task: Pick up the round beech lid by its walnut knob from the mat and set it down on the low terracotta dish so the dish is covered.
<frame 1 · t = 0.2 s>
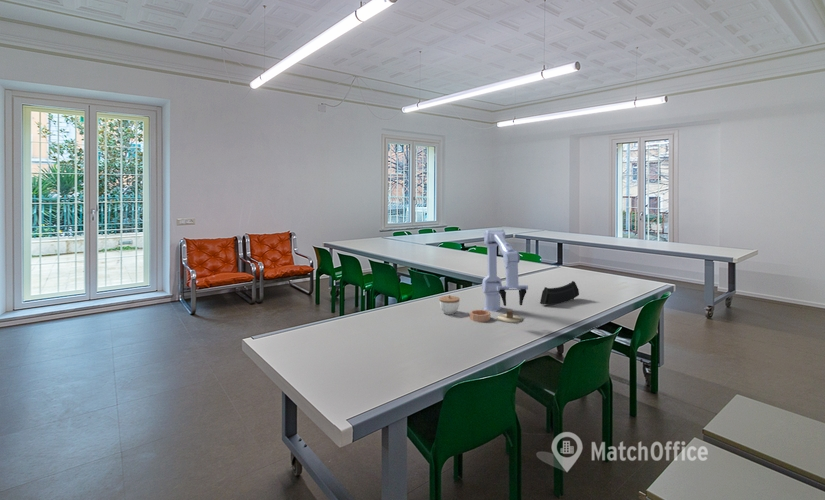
hand: (512, 305, 203), 10 cm above the table, tool pointing down, fingers open, 7 cm apart
lid: (509, 314, 215), on the mat
lidded jar: (449, 312, 229), on the table
dish: (480, 319, 216), on the table
mat: (509, 319, 215), on the table
magazine: (560, 302, 248), on the table
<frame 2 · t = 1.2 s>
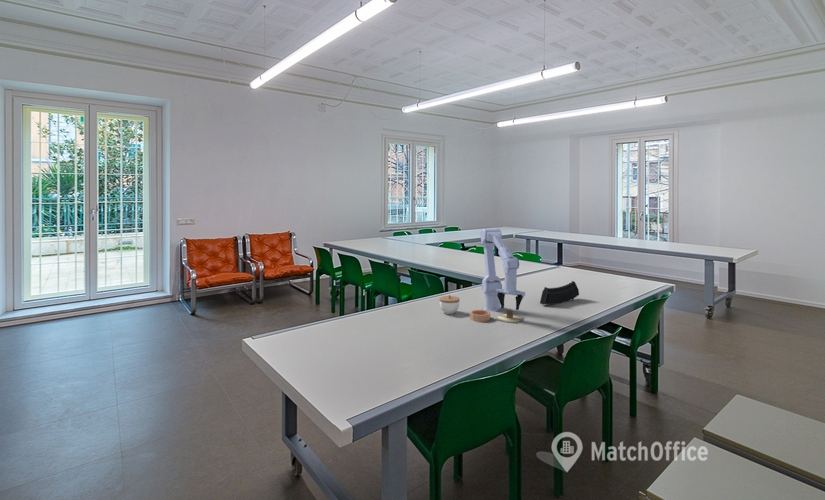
hand: (509, 308, 214), 6 cm above the table, tool pointing down, fingers open, 7 cm apart
nothing on the table moved.
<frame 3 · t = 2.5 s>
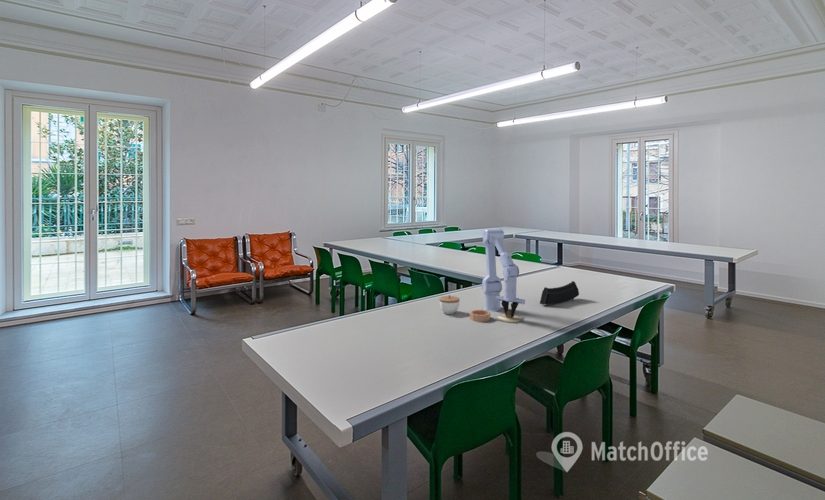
hand: (509, 316, 215), 2 cm above the table, tool pointing down, fingers closed on lid, 2 cm apart
lid: (509, 314, 215), on the mat, touching gripper
everything else where it was.
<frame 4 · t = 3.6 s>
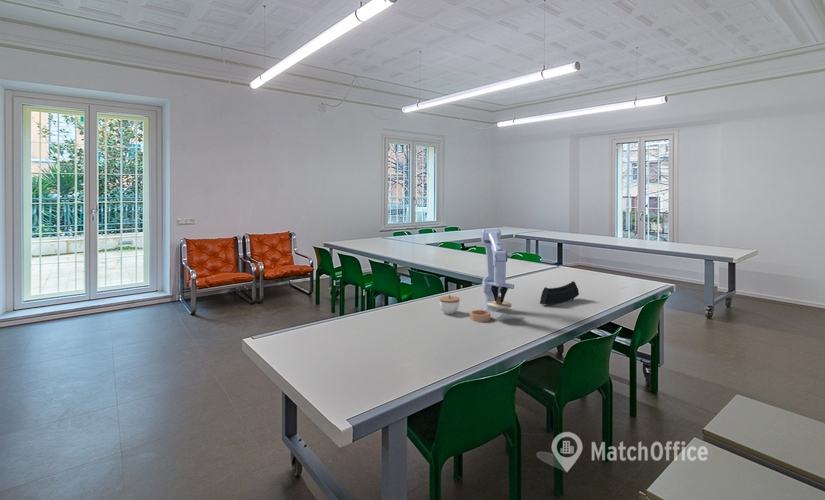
hand: (499, 301, 214), 9 cm above the table, tool pointing down, fingers closed on lid, 2 cm apart
lid: (499, 301, 214), point 10 cm above the table, touching gripper
everything else where it was.
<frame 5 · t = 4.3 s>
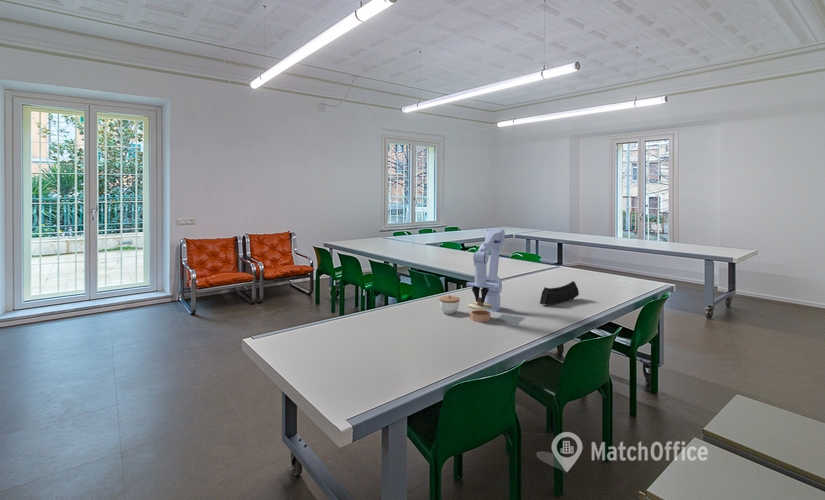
hand: (480, 301, 215), 9 cm above the table, tool pointing down, fingers closed on lid, 2 cm apart
lid: (480, 302, 215), point 9 cm above the table, touching gripper
everything else where it was.
when the fingers open (6 cm above the table, at t = 4.9 s): lid stays where it is, resting on dish.
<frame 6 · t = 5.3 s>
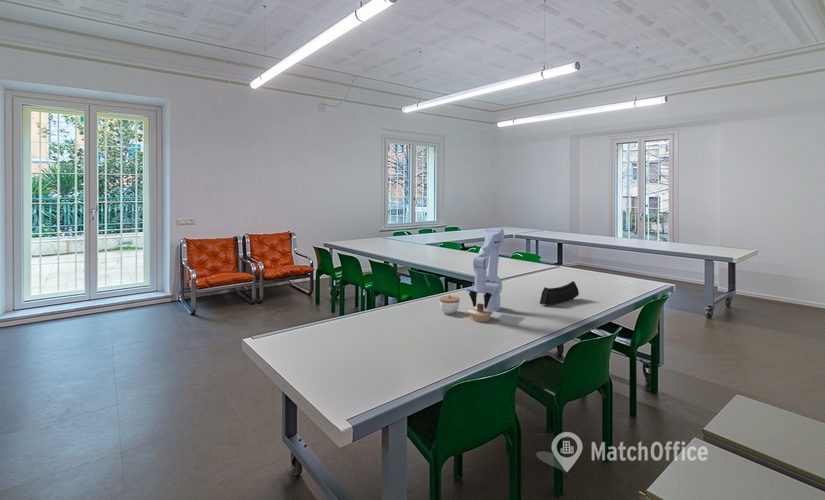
hand: (480, 307, 215), 6 cm above the table, tool pointing down, fingers open, 5 cm apart
lid: (480, 308, 216), on the dish, point 6 cm above the table
everything else where it was.
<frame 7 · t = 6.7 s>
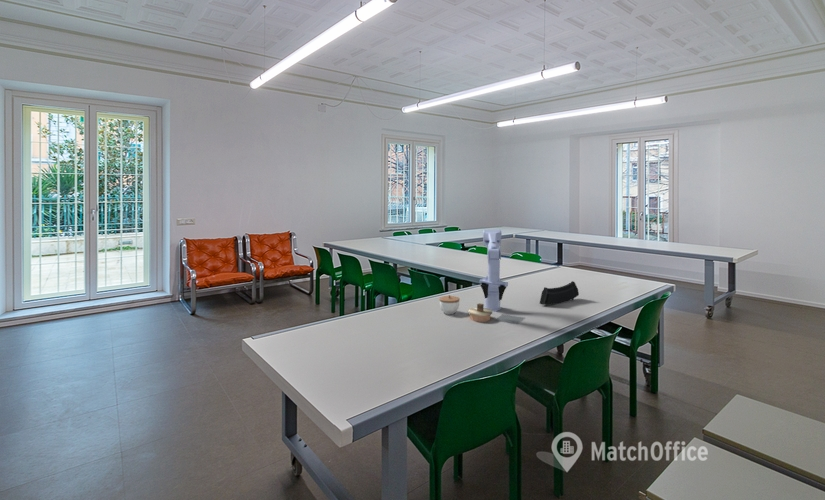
hand: (493, 298, 216), 10 cm above the table, tool pointing down, fingers open, 7 cm apart
nothing on the table moved.
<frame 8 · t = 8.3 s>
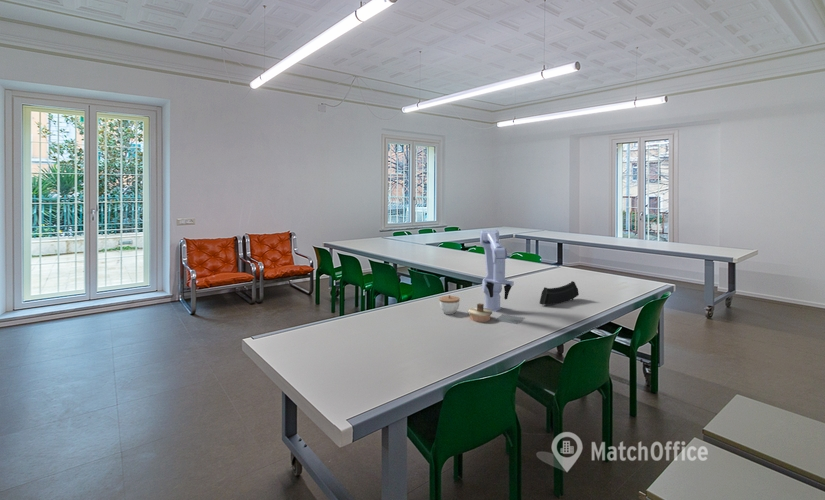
hand: (498, 298, 217), 10 cm above the table, tool pointing down, fingers open, 7 cm apart
nothing on the table moved.
at the end: lid 0.1 cm off-centre on the dish, point 5.6 cm above the dish's base; lid tilted 0°; the gripper is holding nothing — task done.
